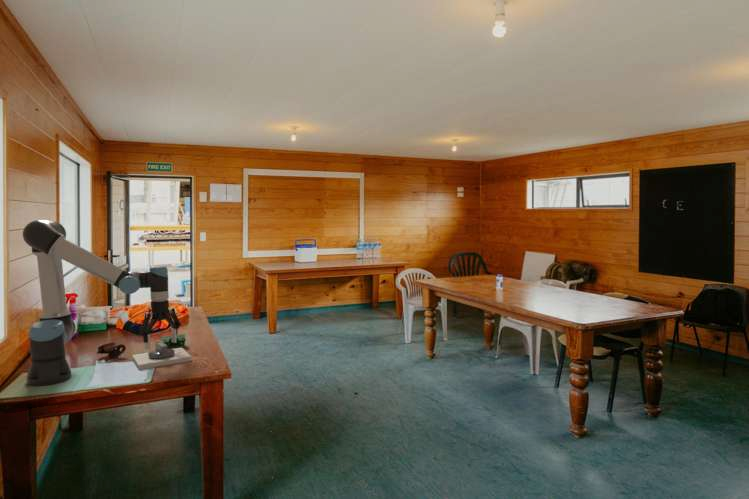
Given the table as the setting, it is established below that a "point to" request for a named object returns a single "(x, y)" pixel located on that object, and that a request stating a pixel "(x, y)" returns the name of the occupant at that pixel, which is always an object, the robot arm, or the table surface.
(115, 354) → the pottery mug
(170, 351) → the dial
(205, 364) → the table surface
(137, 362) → the dial board
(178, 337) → the clamp
